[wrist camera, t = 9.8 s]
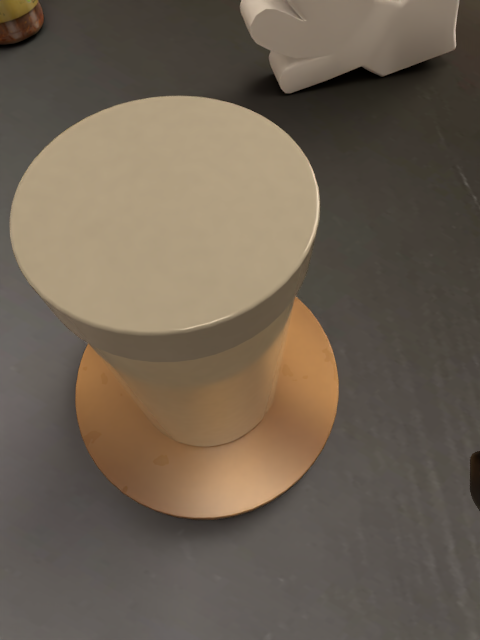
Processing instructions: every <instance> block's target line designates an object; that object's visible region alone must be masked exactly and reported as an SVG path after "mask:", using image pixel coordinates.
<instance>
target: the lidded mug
mask: <svg viewBox="0 0 480 640" xmlns="http://www.w3.org/2000/svg"><path fill="white" fill-rule="evenodd" d="M319 219H320V195H319V188H318V184H317V181H316V177H315V174H314V172H313V169H312V167H311V165H310V163H309V161H308V159H307V157H306V156H305V154H304V153H303V151H302V150H301V149H300V147H299V146H298V145H297V144H296V143H295V141H294V140H293V139H292V138H291V137H290V136H289V135H288V134H287V133H286V132H284V131H283V130H282V129H281V128H280V127H278V126H277V125H276V124H274V123H273V122H271V121H270V120H268V119H267V118H265V117H263V116H261V115H259V114H257V113H255V112H253V111H251V110H249V109H246V108H244V107H241V106H238V105H236V104H232V103H229V102H225V101H221V100H217V99H211V98H205V97H195V96H161V97H151V98H145V99H140V100H134V101H130V102H126V103H123V104H119V105H116V106H113V107H110V108H108V109H105V110H102V111H100V112H97V113H95V114H93V115H91V116H89V117H87V118H85V119H83V120H81V121H80V122H78V123H76V124H75V125H73V126H71V127H70V128H68V129H67V130H65V131H64V132H63V133H61V134H60V135H59V136H57V137H56V138H55V139H54V140H53V141H52V142H50V143H49V144H48V145H47V146H46V147H45V148H44V149H43V150H42V151H41V152H40V154H39V155H38V156H37V157H36V158H35V159H34V160H33V162H32V163H31V165H30V166H29V168H28V169H27V171H26V172H25V174H24V175H23V177H22V179H21V181H20V183H19V185H18V188H17V190H16V193H15V196H14V199H13V203H12V207H11V214H10V239H11V244H12V248H13V253H14V256H15V258H16V261H17V263H18V266H19V268H20V270H21V272H22V273H23V275H24V276H25V278H26V280H27V281H28V283H29V284H30V286H31V287H32V288H33V289H34V290H35V292H36V293H37V294H38V295H39V296H40V298H41V299H42V300H43V301H44V302H45V304H46V305H47V306H48V307H49V308H50V309H51V311H52V312H53V313H54V314H55V315H56V317H57V318H58V319H59V320H60V321H61V322H62V323H63V324H64V325H65V326H66V327H67V328H68V329H69V330H70V331H71V332H73V333H74V334H75V335H76V336H78V337H79V338H80V339H82V340H84V341H85V342H87V343H88V344H89V345H90V346H91V348H92V349H93V350H94V351H95V353H96V354H97V355H98V356H99V358H100V359H101V360H102V362H103V363H104V364H105V365H106V367H107V368H108V369H109V370H110V372H111V373H112V374H113V376H114V377H115V378H116V379H117V381H118V382H119V383H120V384H121V386H122V387H123V388H124V390H125V391H126V392H127V393H128V395H129V396H130V397H131V398H132V400H133V401H134V402H135V403H136V405H137V406H138V407H139V409H140V410H141V411H142V412H143V414H144V415H145V416H146V417H147V419H148V420H149V421H150V422H151V423H152V425H153V426H154V427H155V428H156V429H158V430H159V431H160V432H161V433H162V434H164V435H166V436H167V437H169V438H170V439H173V440H175V441H177V442H180V443H183V444H187V445H191V446H199V447H209V446H217V445H222V444H225V443H229V442H231V441H234V440H236V439H238V438H240V437H242V436H243V435H245V434H247V433H248V432H249V431H251V430H252V429H253V428H254V427H255V426H256V425H257V424H258V423H259V422H260V421H261V420H262V419H263V418H264V416H265V415H266V414H267V412H268V410H269V408H270V407H271V405H272V402H273V400H274V397H275V394H276V390H277V385H278V380H279V375H280V370H281V365H282V360H283V355H284V350H285V345H286V340H287V335H288V330H289V325H290V320H291V315H292V310H293V305H294V300H295V296H296V294H297V293H298V291H299V289H300V288H301V286H302V284H303V281H304V279H305V276H306V274H307V271H308V268H309V263H310V259H311V255H312V251H313V246H314V242H315V237H316V233H317V229H318V224H319Z"/></svg>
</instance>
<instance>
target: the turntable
mask: <svg viewBox="0 0 480 640" xmlns="http://www.w3.org/2000/svg"><path fill="white" fill-rule="evenodd" d="M338 386H339V381H338V373H337V365H336V361H335V358H334V354H333V350H332V348H331V345H330V343H329V340H328V338H327V336H326V334H325V332H324V330H323V329H322V327H321V325H320V323H319V322H318V321H317V319H316V318H315V317H314V315H313V314H312V313H311V311H310V310H309V309H308V308H307V307H306V306H305V305H304V304H303V303H302V302H301V301H300V300H299V299H298V298H297V297H295V300H294V305H293V310H292V315H291V320H290V325H289V330H288V335H287V340H286V345H285V350H284V355H283V360H282V365H281V370H280V375H279V380H278V385H277V390H276V394H275V397H274V400H273V402H272V405H271V407H270V408H269V410H268V412H267V414H266V415H265V416H264V418H263V419H262V420H261V421H260V422H259V423H258V424H257V425H256V426H255V427H254V428H253V429H252V430H251V431H249V432H248V433H247V434H245V435H243V436H242V437H240V438H238V439H236V440H234V441H231V442H229V443H225V444H222V445H217V446H209V447H199V446H191V445H187V444H183V443H180V442H177V441H175V440H173V439H170V438H169V437H167V436H166V435H164V434H162V433H161V432H160V431H159V430H158V429H156V428H155V427H154V426H153V425H152V423H151V422H150V421H149V420H148V419H147V417H146V416H145V415H144V414H143V412H142V411H141V410H140V409H139V407H138V406H137V405H136V403H135V402H134V401H133V400H132V398H131V397H130V396H129V395H128V393H127V392H126V391H125V390H124V388H123V387H122V386H121V384H120V383H119V382H118V381H117V379H116V378H115V377H114V376H113V374H112V373H111V372H110V370H109V369H108V368H107V367H106V365H105V364H104V363H103V362H102V360H101V359H100V358H99V356H98V355H97V354H96V353H95V351H94V350H93V349H92V348H91V346H90V345H89V344H88V345H87V347H86V349H85V352H84V354H83V357H82V360H81V363H80V367H79V370H78V376H77V382H76V399H75V404H76V413H77V420H78V424H79V428H80V432H81V436H82V438H83V441H84V443H85V445H86V448H87V450H88V452H89V454H90V456H91V457H92V459H93V461H94V462H95V464H96V465H97V467H98V468H99V469H100V471H101V472H102V473H103V474H104V475H105V477H106V478H107V479H108V480H109V481H110V482H111V483H112V484H113V485H114V486H115V487H117V488H118V489H119V490H120V491H121V492H122V493H124V494H125V495H127V496H128V497H130V498H131V499H133V500H134V501H136V502H137V503H139V504H141V505H144V506H146V507H148V508H150V509H152V510H155V511H157V512H160V513H163V514H167V515H171V516H174V517H178V518H185V519H193V520H216V519H222V518H229V517H234V516H238V515H241V514H244V513H247V512H251V511H253V510H255V509H258V508H260V507H262V506H264V505H266V504H268V503H270V502H271V501H273V500H275V499H276V498H278V497H279V496H281V495H282V494H284V493H285V492H286V491H287V490H289V489H290V488H291V487H292V486H293V485H294V484H295V483H297V482H298V481H299V480H300V478H301V477H302V476H303V475H304V474H305V473H306V472H307V470H308V469H309V468H310V467H311V466H312V465H313V463H314V462H315V460H316V459H317V457H318V455H319V454H320V452H321V451H322V449H323V447H324V445H325V443H326V441H327V439H328V437H329V434H330V432H331V429H332V426H333V423H334V419H335V416H336V410H337V404H338Z"/></svg>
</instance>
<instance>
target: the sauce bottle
mask: <svg viewBox="0 0 480 640" xmlns="http://www.w3.org/2000/svg"><path fill="white" fill-rule="evenodd" d="M43 21H44V16H43V12H42V8H41V6H40V4H39V2H38V0H0V45H7V44H15V43H17V42H20V41H23V40H25V39H26V38H29V37H31V36H33V35H35V34H36V33H37V32H38V31H39V30H40V28H41V26H42V24H43Z"/></svg>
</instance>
